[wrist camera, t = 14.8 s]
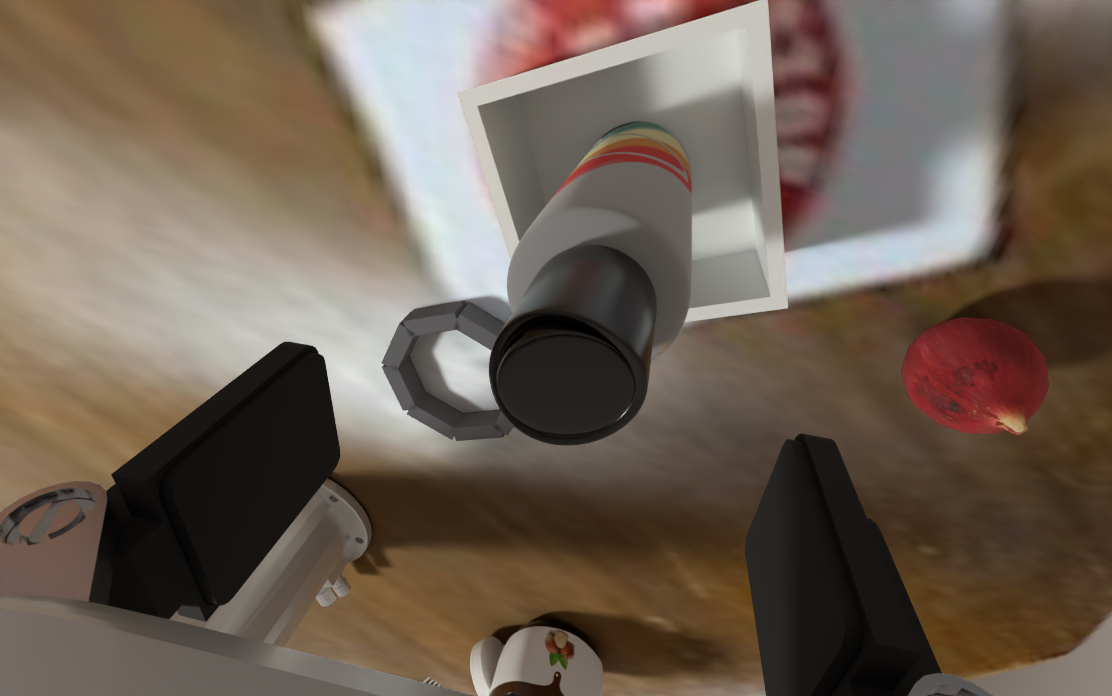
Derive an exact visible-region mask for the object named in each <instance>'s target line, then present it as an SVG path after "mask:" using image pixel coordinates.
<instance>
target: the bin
mask: <svg viewBox="0 0 1112 696" xmlns="http://www.w3.org/2000/svg"><path fill="white" fill-rule="evenodd" d="M457 94H458V97H459V100H460V103H461V107H462V110H463V113H464V116H465V119H466V122H467V125H468V128H469V131H470V134H471V138H472V141H473V144H474V147H475V150H476V153H477V156H478V159H479V162H480V165H481V169H482V172H483V175H484V178H485V181H486V184H487V187H488V190H489V193H490V197H491V200H492V203H493V206H494V209H495V212H496V215H497V218H498V221H499V224H500V228H501V231H502V234H503V237H504V240H505V243H506V246H507V249H508V252H509V255H510V259H512V256H513V253H514V251H515V249H516V247H517V245H518V243H519V242H520V240H521V239H522V237H523V236H524V234H525V233H526V231H527V230H528V228H529V227H530V226H531V224H532V223H533V222H534V220H535V219H536V218H537V217H538V215H539V214H540V213H541V211H542V210H543V209H544V208H545V206H546V205H547V204H548V203H549V201H550V200H551V199H552V197H553V196H554V195H555V194H556V192H557V191H558V190H559V189H560V187H561V186H562V185H563V184H564V182H565V181H566V180H567V178H568V177H569V176H570V175H571V173H572V172H573V171H574V170H575V168H576V167H577V166H578V164H579V163H580V162H581V161H582V159H583V158H584V157H585V156H586V154H587V153H588V152H589V151H590V149H591V148H592V147H593V146H594V144H595V143H596V142H597V141H598V140H599V139H600V138H601V137H602V136H603V135H605V134H606V133H607V132H608V131H610V130H612V129H613V128H615V127H617V126H619V125H622V124H625V123H629V122H636V121H644V122H651V123H655V124H658V125H660V126H662V127H664V128H666V129H668V130H669V131H670V132H672V133H673V134H674V135H675V136H676V137H677V138H678V139H679V140H680V141H681V143H682V144H683V146H684V148H685V150H686V152H687V154H688V157H689V160H690V164H691V170H692V271H691V296H690V303H689V309H688V313H687V316H686V319H685V321H684V322H689V321H696V320H704V319H711V318H719V317H726V316H733V315H741V314H748V313H755V312H763V311H770V310H778V309H785V308H788V301H787V285H786V270H785V255H784V240H783V224H782V209H781V194H780V179H779V163H778V148H777V133H776V117H775V102H774V87H773V72H772V56H771V41H770V26H769V11H768V0H759V1H756V2H752V3H749V4H746V5H743V6H739V7H736V8H733V9H730V10H726V11H723V12H720V13H717V14H713V15H710V16H707V17H703V18H700V19H697V20H694V21H690V22H687V23H684V24H681V25H677V26H674V27H671V28H668V29H664V30H661V31H658V32H655V33H651V34H648V35H645V36H642V37H638V38H635V39H632V40H629V41H625V42H622V43H619V44H615V45H612V46H609V47H606V48H602V49H599V50H596V51H593V52H589V53H586V54H583V55H580V56H576V57H573V58H570V59H567V60H563V61H560V62H557V63H554V64H550V65H547V66H544V67H541V68H537V69H534V70H531V71H528V72H524V73H521V74H518V75H514V76H511V77H508V78H505V79H501V80H498V81H495V82H492V83H488V84H485V85H482V86H479V87H475V88H472V89H469V90H466V91H462V92H459V93H457Z"/></svg>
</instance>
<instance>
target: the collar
mask: <svg viewBox="0 0 1112 696" xmlns="http://www.w3.org/2000/svg"><path fill="white" fill-rule="evenodd" d="M504 325H505V323H504V322H502V321H500V320H499V319H497V318H495V317H494V316H492V315H490V314H489V313H487V312H485V311H484V310H482V309H480V308H479V307H477V306H475V305H474V304H472V303H470V302H469V303H468V304H467V306H466V305H465V302H464V301H460V302H454V303H448V304H442V305H436V306H430V307H424V308H419V309H414V310H413V311H412V312H410V313H409V314H408V315H407V316H406V317H405V318H404V319H403V320H402V321H401V323H400V324H399V325H398V328H397V330H396V332H395V334H394V337H393V339H392V341H391V343H390V345H389V348H388V350H387V352H386V354H385V356H384V359H383V361H382V363H383V364H384V365H383V367H382V368H383V370H384V373H385V375H386V377H387V379H388V381H389V383H390V385H391V387H392V389H393V391H394V393H395V395H396V397H397V399H398V401H399V403H400V405H401V407H402V409H403V410H409V411H408V413H407V415H409V416H411V417H413V418H415V419H416V420H418V421H420V422H422V423H423V424H425V425H427V426H429V427H430V428H432V429H434V430H436V431H437V432H439V433H441V434H443V435H444V436H446V437H448V438H450V439H451V440H452V439H453V437H454V436H455V439H456V441H461V440H474V439H487V438H500V437H504V435H505V434H506V435H508V434H509V432H510V431H511V429H512V428H513V427H514V425H512V423H511V422H510V421H509V420H508V419H507V418H506V417H505V416H504V414H503V413H502V411H501V410H494V411H483V412H473V413H461V412H460V411H458V410H456V409H454V408H453V407H451V406H449V405H447V404H446V403H444V402H442V401H440V400H439V399H437V398H435V397H434V396H432V395H430V394H428V393H427V392H425V390H424V387H423V385H422V383H421V381H420V379H419V377H418V374H417V372H416V370H415V368H414V366H413V363H412V361H411V359H410V357H409V354H410V352H411V350H412V348H413V346H414V344H415V342H416V340H417V338H418V336H419V335H424V334H431V333H438V332H444V331H451V330H458V331H460V332H462V333H463V334H465V335H467V336H468V337H470V338H472V339H473V340H475V341H477V342H478V343H480V344H482V345H483V346H485V347H487V348H488V349H490V350H492V348H493V345H494V343H495V340H496V338H497V336H498V335H499V333H500V331H501V329H502V328H503V326H504Z"/></svg>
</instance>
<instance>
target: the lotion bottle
mask: <svg viewBox="0 0 1112 696" xmlns="http://www.w3.org/2000/svg"><path fill="white" fill-rule="evenodd" d="M691 271H692V170H691V164H690V160H689V157H688V154H687V152H686V150H685V148H684V146H683V144H682V143H681V141H680V140H679V139H678V138H677V137H676V136H675V135H674V134H673V133H672V132H670V131H669V130H668V129H666V128H664V127H662V126H660V125H658V124H655V123H651V122H644V121H636V122H629V123H625V124H622V125H619V126H617V127H615V128H613V129H612V130H610V131H608V132H607V133H606V134H605V135H603V136H602V137H601V138H600V139H599V140H598V141H597V142H596V143H595V144H594V146H593V147H592V148H591V149H590V151H589V152H588V153H587V154H586V156H585V157H584V158H583V159H582V161H581V162H580V163H579V164H578V166H577V167H576V168H575V170H574V171H573V172H572V173H571V175H570V176H569V177H568V178H567V180H566V181H565V182H564V184H563V185H562V186H561V187H560V189H559V190H558V191H557V192H556V194H555V195H554V196H553V197H552V199H551V200H550V201H549V203H548V204H547V205H546V206H545V208H544V209H543V210H542V211H541V213H540V214H539V215H538V217H537V218H536V219H535V220H534V222H533V223H532V224H531V226H530V227H529V228H528V230H527V231H526V233H525V234H524V236H523V237H522V239H521V240H520V242H519V243H518V245H517V247H516V249H515V251H514V253H513V256H512V259H511V262H510V266H509V270H508V277H507V291H508V299H509V303H510V307H511V310H512V314H511V315H510V317H509V318H508V320H507V321H506V323H505V325H504V326H503V328H502V329H501V331H500V333H499V335H498V336H497V338H496V340H495V343H494V345H493V348H492V351H491V355H490V362H489V377H490V384H491V389H492V392H493V395H494V398H495V400H496V402H497V404H498V406H499V408H500V410H501V411H502V413H503V414H504V416H505V417H506V418H507V419H508V420H509V421H510V422H511V423H512V425H514V426H515V427H516V428H517V429H518V430H520V431H521V432H523V433H524V434H526V435H528V436H529V437H531V438H534V439H536V440H539V441H542V442H545V443H549V444H555V445H579V444H585V443H590V442H593V441H597V440H600V439H602V438H605V437H607V436H609V435H611V434H613V433H615V432H616V431H618V430H619V429H621V428H622V427H624V426H625V425H626V424H627V423H629V422H630V421H631V420H632V419H633V418H634V416H635V415H636V414H637V413H638V411H639V410H640V408H641V406H642V405H643V402H644V400H645V397H646V393H647V388H648V380H649V372H650V364H651V360H653V359H654V358H656V357H657V356H659V355H660V354H661V353H662V352H664V351H665V350H666V349H667V348H668V347H669V346H670V344H671V343H672V342H673V341H674V340H675V338H676V337H677V335H678V334H679V332H680V330H681V328H682V326H683V324H684V321H685V319H686V316H687V313H688V309H689V303H690V296H691Z"/></svg>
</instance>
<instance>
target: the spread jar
mask: <svg viewBox="0 0 1112 696" xmlns="http://www.w3.org/2000/svg"><path fill="white" fill-rule="evenodd" d="M470 668H471V675H472V679H473V683H474V686H475V689H476V691H477V694H478V696H602V688H603V667H602V663H601V659H600V657H599V654H598V652H597V651H596V649H595V647H594V646H593V644H592V643H591V641H590V640H589V639H588V638H587V637H586V636H585V635H584V634H583V633H582V632H581V631H580V630H579V629H577V628H575V627H574V626H572V625H570V624H567V623H565V622H561V621H557V620H550V619H543V620H537V621H534V622H531V623H528V624H526V625H524V626H522V627H521V628H520V629H518V630H517V631H516V632H515V633H514V634H513V635H512V636H511V637H510V638H509V640H508V641H507V643H506V645H505V646H504V644H503V643H502V642H501V641H500V640H499V639H497V638H495V637H493V636H489V637H487V638H485V639H483V640H481V641H479V642H477V643H476V644H475V645H474V647H473V649H472V652H471V658H470Z"/></svg>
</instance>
